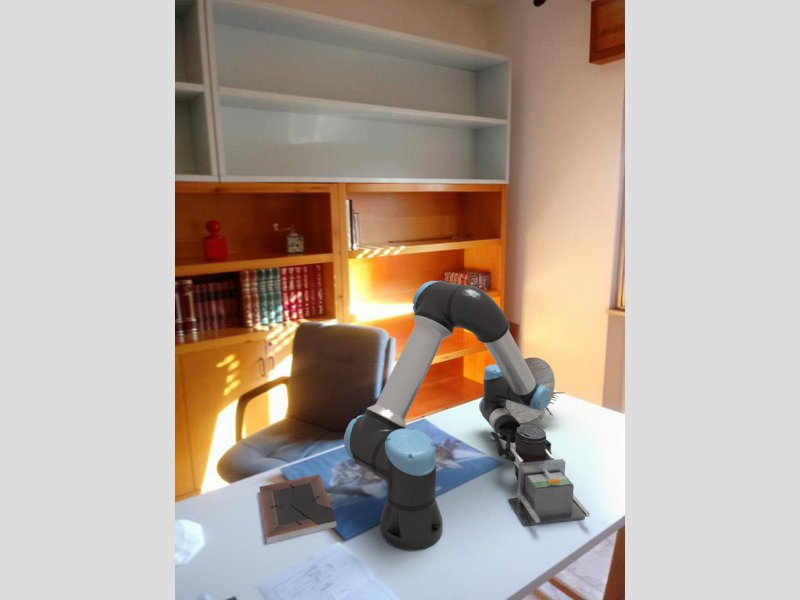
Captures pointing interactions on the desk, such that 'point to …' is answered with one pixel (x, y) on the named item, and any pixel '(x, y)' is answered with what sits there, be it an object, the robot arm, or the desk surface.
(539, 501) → the grey box on baseplate
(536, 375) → the disc
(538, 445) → the camera lens
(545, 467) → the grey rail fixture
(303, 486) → the picture frame
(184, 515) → the desk surface
